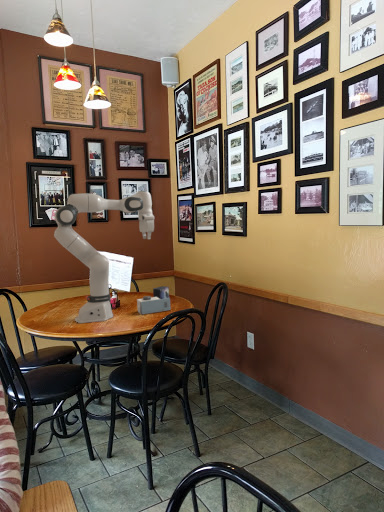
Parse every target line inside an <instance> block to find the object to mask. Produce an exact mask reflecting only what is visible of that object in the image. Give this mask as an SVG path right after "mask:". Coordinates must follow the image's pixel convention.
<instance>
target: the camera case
mask: <svg viewBox="0 0 384 512" xmlns="http://www.w3.org/2000/svg"><path fill="white" fill-rule="evenodd" d="M158 299H159V298H158V297H153V296H151V295H147V296H146V295H145V296H142V298H137V299H136V302H137V304H136V306H137V312H138V313H139V314H140V315H142V314H141V311H140V302H143V301H151V300H158ZM160 312H162V311H160ZM160 312H159V313H160ZM154 313H155V312H153V313H152V314H154Z"/></svg>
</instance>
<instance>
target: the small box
mask: <svg viewBox="0 0 384 512" xmlns="http://www.w3.org/2000/svg"><path fill="white" fill-rule="evenodd" d="M152 290H153V296H152V297H158V298H159V299H166V298H170V289H169V286H163V285H162V286H161V285H160V286H158V287H154V288H153V289H152Z"/></svg>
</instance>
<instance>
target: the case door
mask: <svg viewBox="0 0 384 512" xmlns="http://www.w3.org/2000/svg"><path fill="white" fill-rule="evenodd" d="M171 309H172V307H171V298H170V297H169V298H166V299H158V300H151V301H143V302H140V311H141V314H140V315H146V314H154V313H160V311H161V312H165V311H166V312H167V311H170V310H171ZM153 312H154V313H153Z"/></svg>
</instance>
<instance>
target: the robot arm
mask: <svg viewBox="0 0 384 512" xmlns="http://www.w3.org/2000/svg"><path fill="white" fill-rule="evenodd" d="M152 205H153V201H152V195H151V193H150V192H149V191H145V190H139V191H137V192H136V193H134V194H132V195H130V196H128V197H123V198H120V199H107V198H103V197H102V196H101V195H99V194H95V193H71V194H70V195H69V196H68V197H67V204H65V205H63V206H61V207H59V208H58V209H57V210H56V211H55V212H54V221H55V223H56V226H57V228H55V230H54V234H53V237H54V238H55V239H56V241H57V242H58V243H59V244H60V245H61V246H62V247H63V248H65V250H67V251H68V252H69V253H71V255H73V256H74V257H75V258H76V259H77V260H79V261H80V262H81V263H82V264H83V265H85V267H87V268H89V291H90V293H89V295H86V296H85V299H86V300H87V302H86V303H85V304H83V305H82V306H81V307H80V308H79V310H78V316H76V317H75V318H74V321H76V322H75V323H77V322H78V323H77V324H84V323H85V324H86V323H94V322H104V321H107V320H110V319H111V318H113V317H114V313H113V310H112V307H111V294H110V287H109V275H110V261H109V259H108V257H107V256H106V255H103V254H102V253H100V252H99V251H98V250H97V249H96V248H95V247H94V246H92V245H91V244H90V243H89V242H88V241H87V240H86V239H84V237H82V235H80V234H79V233H78V232H76V230H74V229H73V227H72V225H73V224H74V223H75V221H76V220H77V217H78V215H79V213H98V212H102V211H107V210H108V211H110V210H111V211H120V212H122V213H123V214H131V213H135V212H138V213H137V215H138V221H139V224H138V227H139V232H141V234H142V239H143V240H146V239H147V240H151V237H152V233H154V230H155V215H154V214H153V208H152V207H153V206H152ZM146 233H147V234H146Z"/></svg>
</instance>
